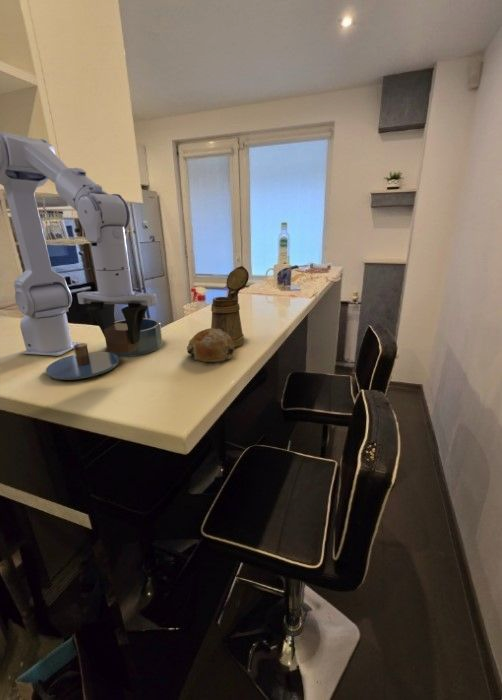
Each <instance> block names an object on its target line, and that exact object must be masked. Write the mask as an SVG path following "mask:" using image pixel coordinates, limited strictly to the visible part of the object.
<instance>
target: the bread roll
mask: <svg viewBox="0 0 502 700" xmlns="http://www.w3.org/2000/svg"><path fill="white" fill-rule="evenodd" d="M187 344H188V345H187V346H186V350H187V351H186V352H187V354H189V355H190V357H191V358H192V359H193V360H195V361H197V362H201V363H220V362H224V361H226V360H230V359H232V358H233V354H234V351H235V347H234V343H233V340H232V338H231V337H230V336H229V334H227V333H226V332H224V331H222V330H221V329H214V328H211V327H210V328H206V329H204V330H200V331H198V332H197V333H196V334H195V335H194V336H192V337H191V339H190V340H189V341H188V343H187Z"/></svg>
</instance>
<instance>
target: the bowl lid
mask: <svg viewBox="0 0 502 700" xmlns="http://www.w3.org/2000/svg"><path fill="white" fill-rule="evenodd" d="M80 343H81V344H76V345H74V349H73V351H74V354H72V355H68V356H64V357H62V358H59V359H57V360H55V361H53V362H51V363H50V364H48V366H46V368H45V373H46V375H47V376H48V377H49V378H52V379H55V380H63V381H67V380H68V381H70V380H81V379H88V378H92V377H96V376H98V375H101V374H104V373H107V372H109V371H111V370H113V369H114V368H116V367H117V366H118V365H119V363H120V358H119V355H115V354H113V353H110V352H107V351H89V350H88V344H87V343H85V342H80Z"/></svg>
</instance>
